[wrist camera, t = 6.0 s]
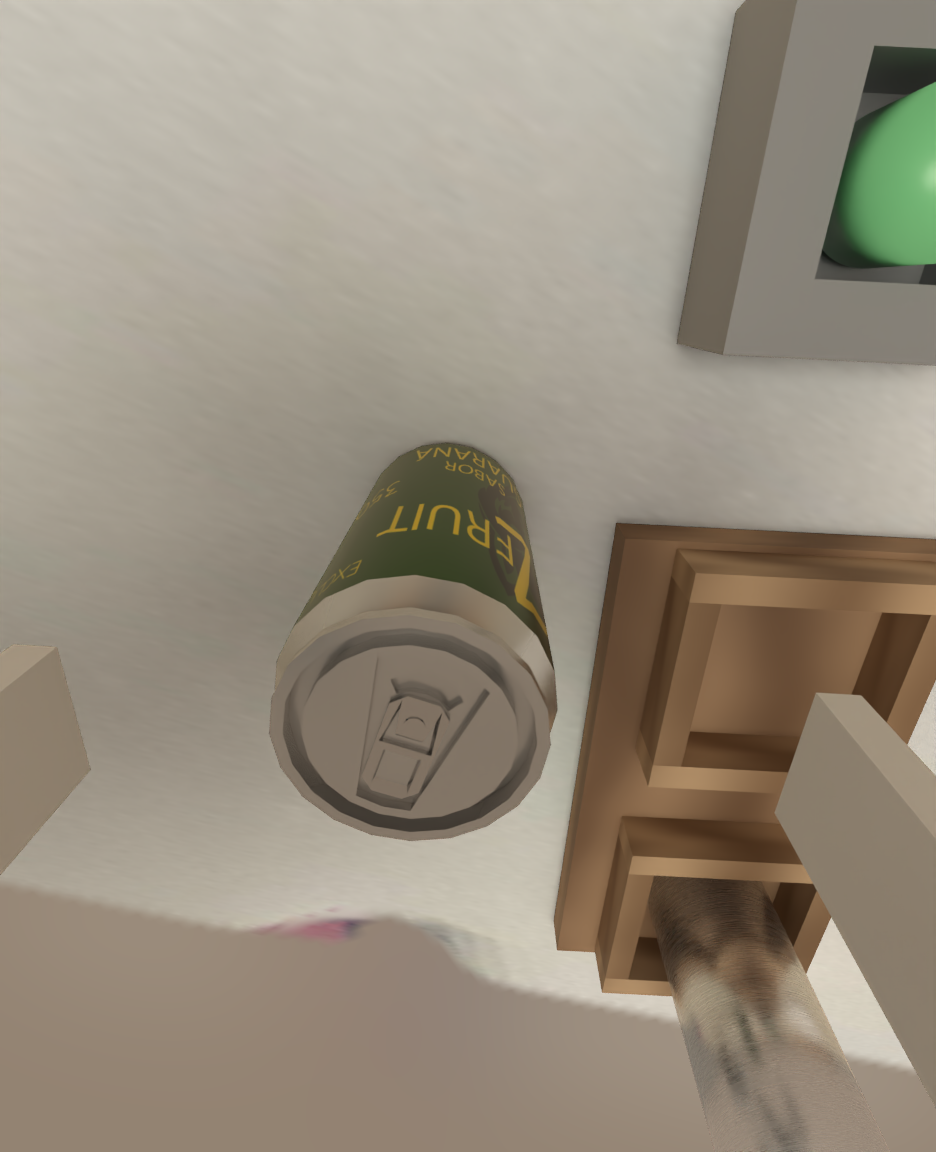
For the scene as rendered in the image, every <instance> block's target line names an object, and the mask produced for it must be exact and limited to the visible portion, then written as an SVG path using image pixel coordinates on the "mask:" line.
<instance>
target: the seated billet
mask: <svg viewBox="0 0 936 1152" xmlns="http://www.w3.org/2000/svg"><path fill="white" fill-rule="evenodd" d="M647 904H648V908H649V912H650V915H651V919H652V923H653V926H654V930H655V934H656V938H657V941H658V945H659V949H660V952H661V956H662V960H663V963H664V967H665V971H666V974H667V978H668V982H669V986H670V989H671V993H672V997H673V1000H674V1004H675V1008H676V1011H677V1015H678V1019H679V1023H680V1026H681V1030H682V1033H683V1037H684V1041H685V1045H686V1048H687V1052H688V1055H689V1059H690V1063H691V1067H692V1071H693V1074H694V1078H695V1082H696V1085H697V1089H698V1093H699V1097H700V1100H701V1104H702V1108H703V1111H704V1115H705V1118H706V1122H707V1126H708V1130H709V1134H710V1137H711V1141H712V1145H713V1148H714V1152H890V1150H889V1148H888V1146H887V1143H886V1141H885V1139H884V1137H883V1135H882V1133H881V1131H880V1129H879V1127H878V1125H877V1122H876V1120H875V1118H874V1116H873V1114H872V1112H871V1110H870V1108H869V1106H868V1103H867V1101H866V1099H865V1097H864V1095H863V1093H862V1091H861V1089H860V1087H859V1085H858V1083H857V1080H856V1078H855V1076H854V1074H853V1072H852V1070H851V1068H850V1066H849V1064H848V1061H847V1059H846V1057H845V1055H844V1053H843V1051H842V1049H841V1047H840V1045H839V1043H838V1040H837V1038H836V1036H835V1034H834V1032H833V1030H832V1028H831V1026H830V1024H829V1022H828V1019H827V1017H826V1015H825V1013H824V1011H823V1009H822V1007H821V1005H820V1003H819V1001H818V998H817V996H816V994H815V992H814V990H813V988H812V986H811V984H810V982H809V980H808V977H807V975H806V973H805V971H804V969H803V967H802V965H801V963H800V961H799V959H798V956H797V954H796V952H795V950H794V948H793V946H792V944H791V942H790V940H789V938H788V935H787V933H786V931H785V929H784V927H783V925H782V923H781V921H780V919H779V917H778V914H777V912H776V910H775V908H774V906H773V904H772V902H771V900H770V898H769V896H768V893H767V891H766V889H765V887H764V885H763V883H762V881H750V880H731V879H712V878H693V877H673V876H654V878H653V882H652V886H651V890H650V894H649V898H648V902H647Z"/></svg>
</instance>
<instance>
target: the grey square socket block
mask: <svg viewBox="0 0 936 1152" xmlns="http://www.w3.org/2000/svg"><path fill="white" fill-rule="evenodd" d="M934 82H936V0H746V1H745V2H744V3H743V4H742V5H741V6H740V7H739V9H738V10H737V11H736V15H735V21H734V26H733V32H732V37H731V43H730V49H729V54H728V60H727V65H726V71H725V77H724V82H723V88H722V93H721V99H720V105H719V110H718V116H717V122H716V127H715V133H714V138H713V144H712V150H711V155H710V161H709V166H708V172H707V178H706V183H705V189H704V194H703V200H702V206H701V211H700V217H699V223H698V228H697V234H696V239H695V245H694V251H693V256H692V262H691V267H690V273H689V279H688V284H687V290H686V295H685V301H684V307H683V312H682V318H681V324H680V329H679V335H678V340H677V344H681V345H685V346H689V347H693V348H698V349H702V350H706V351H710V352H714V353H718V354H722V355H739V356H758V357H778V358H798V359H817V360H837V361H857V362H876V363H896V364H916V365H935V366H936V264H925V265H911V266H897V267H883V268H869V269H859V268H851V267H848V266H844V265H842V264H840V263H838V262H836V261H835V260H833V259H832V258H830V257H829V256H828V255H827V254H826V253H825V252H824V251H823V249H822V248H823V244H824V240H825V236H826V232H827V228H828V225H829V221H830V217H831V213H832V209H833V205H834V201H835V197H836V193H837V189H838V186H839V182H840V178H841V174H842V170H843V166H844V162H845V158H846V154H847V150H848V147H849V143H850V139H851V135H852V131H853V127H854V123H855V122H856V121H857V120H859V119H860V118H862V117H864V116H865V115H867V114H869V113H871V112H873V111H875V110H877V109H879V108H881V107H884V106H886V105H888V104H890V103H892V102H894V101H896V100H898V99H900V98H903V97H905V96H907V95H909V94H911V93H913V92H915V91H917V90H919V89H922V88H924V87H926V86H928V85H930V84H932V83H934Z"/></svg>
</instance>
